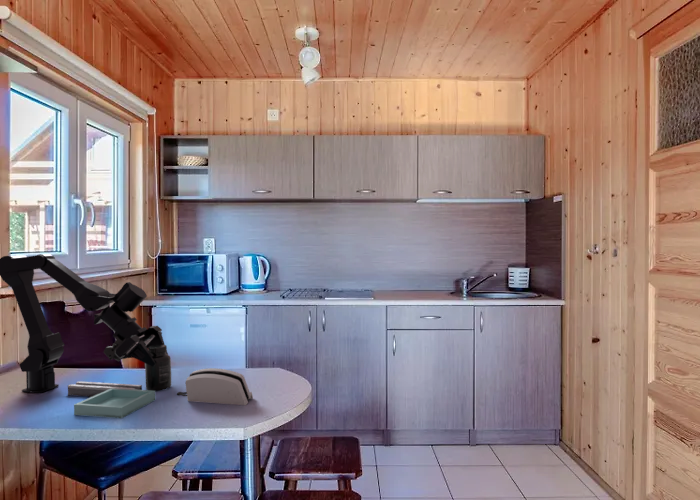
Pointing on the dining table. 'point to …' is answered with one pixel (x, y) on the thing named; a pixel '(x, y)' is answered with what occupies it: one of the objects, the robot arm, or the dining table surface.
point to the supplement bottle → (158, 369)
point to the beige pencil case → (217, 387)
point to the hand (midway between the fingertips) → (160, 361)
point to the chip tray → (114, 403)
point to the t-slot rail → (97, 388)
